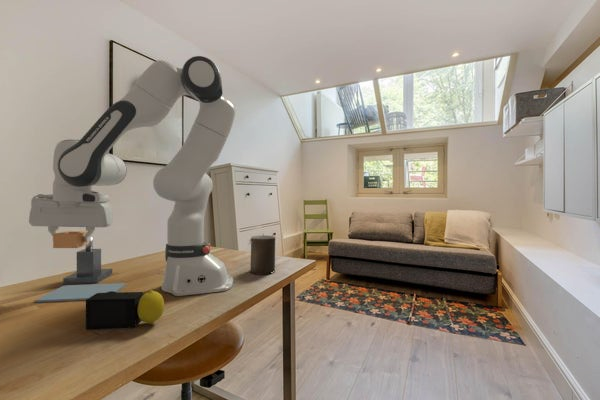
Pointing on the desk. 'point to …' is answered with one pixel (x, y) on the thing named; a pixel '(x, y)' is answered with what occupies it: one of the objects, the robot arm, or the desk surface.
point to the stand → (88, 267)
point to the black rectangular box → (112, 310)
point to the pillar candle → (262, 254)
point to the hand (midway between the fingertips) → (71, 241)
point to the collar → (69, 239)
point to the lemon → (150, 307)
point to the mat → (79, 292)
